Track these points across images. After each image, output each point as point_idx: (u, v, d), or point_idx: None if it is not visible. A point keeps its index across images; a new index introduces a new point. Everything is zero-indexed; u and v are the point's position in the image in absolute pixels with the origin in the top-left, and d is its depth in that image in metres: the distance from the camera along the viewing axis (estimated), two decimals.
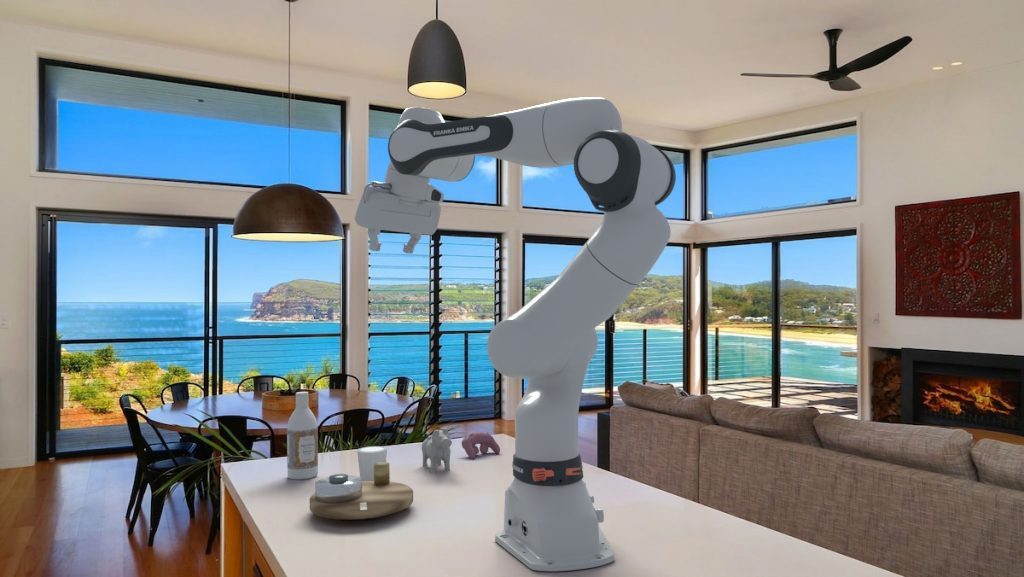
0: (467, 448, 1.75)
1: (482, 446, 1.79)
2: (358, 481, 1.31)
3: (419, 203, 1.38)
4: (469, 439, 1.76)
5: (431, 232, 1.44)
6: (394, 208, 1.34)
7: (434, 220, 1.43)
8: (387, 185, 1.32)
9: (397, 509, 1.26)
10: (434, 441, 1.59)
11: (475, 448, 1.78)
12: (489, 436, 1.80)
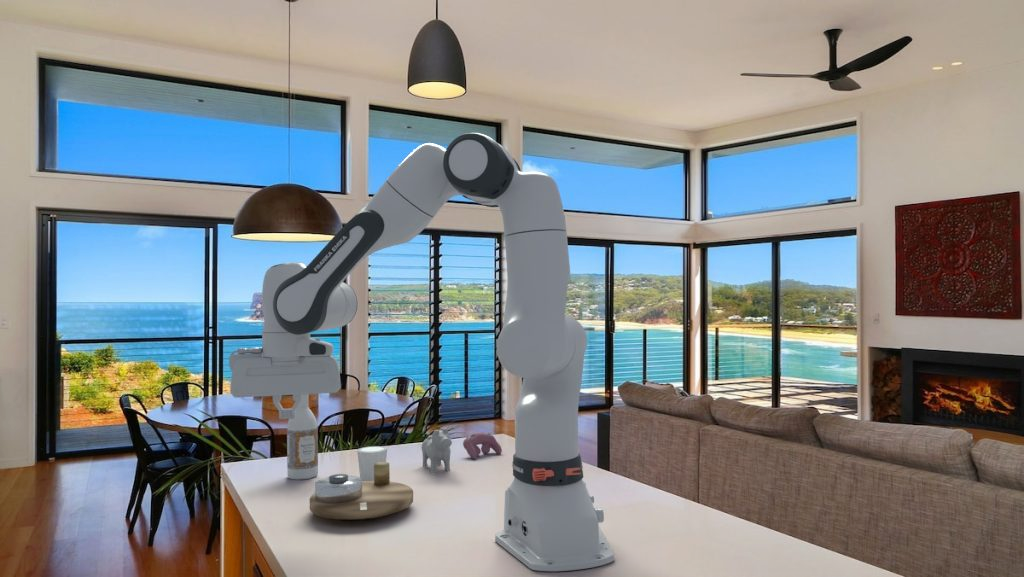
0: (468, 449, 1.74)
1: (484, 446, 1.79)
2: (358, 481, 1.31)
3: (301, 361, 1.28)
4: (471, 439, 1.76)
5: (332, 389, 1.29)
6: (268, 371, 1.27)
7: (331, 376, 1.29)
8: (256, 349, 1.27)
9: (397, 509, 1.26)
10: (434, 441, 1.59)
11: (477, 448, 1.77)
12: (491, 436, 1.80)
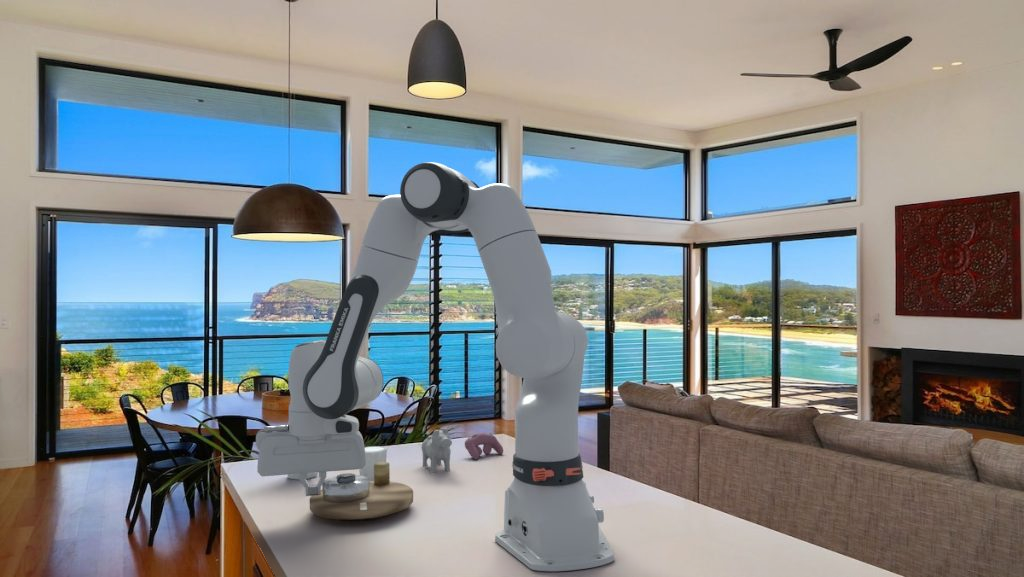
0: (470, 449, 1.74)
1: (485, 447, 1.78)
2: (365, 481, 1.31)
3: (328, 438, 1.29)
4: (472, 440, 1.75)
5: (358, 466, 1.30)
6: (295, 449, 1.27)
7: (357, 452, 1.30)
8: (283, 427, 1.28)
9: (397, 509, 1.26)
10: (434, 441, 1.59)
11: (478, 449, 1.77)
12: (492, 437, 1.79)
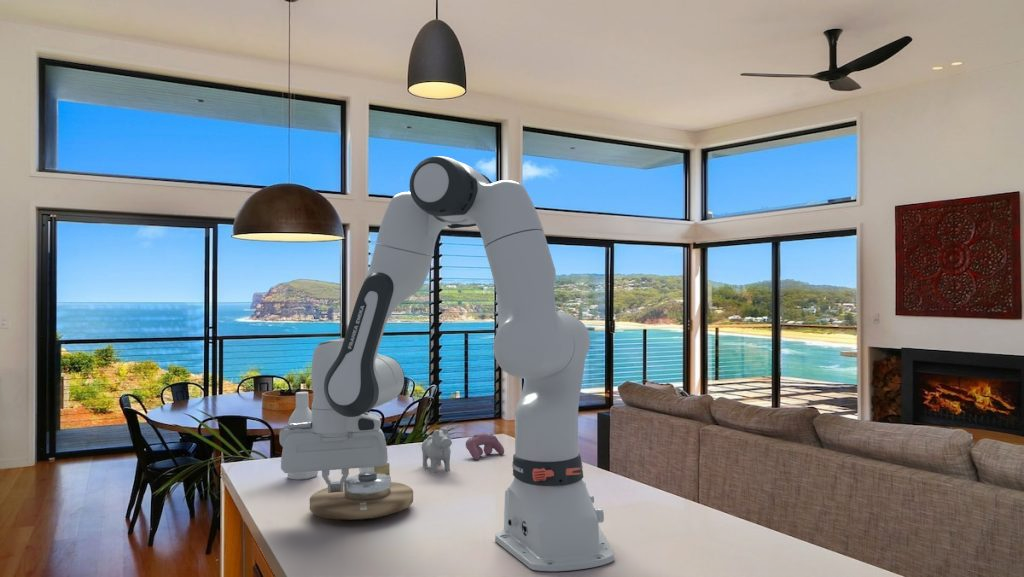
0: (471, 450, 1.74)
1: (486, 447, 1.78)
2: (387, 479, 1.32)
3: (350, 435, 1.30)
4: (473, 440, 1.75)
5: (380, 463, 1.31)
6: (318, 446, 1.29)
7: (379, 449, 1.31)
8: (306, 424, 1.29)
9: (397, 509, 1.26)
10: (434, 441, 1.59)
11: (479, 449, 1.77)
12: (493, 437, 1.79)
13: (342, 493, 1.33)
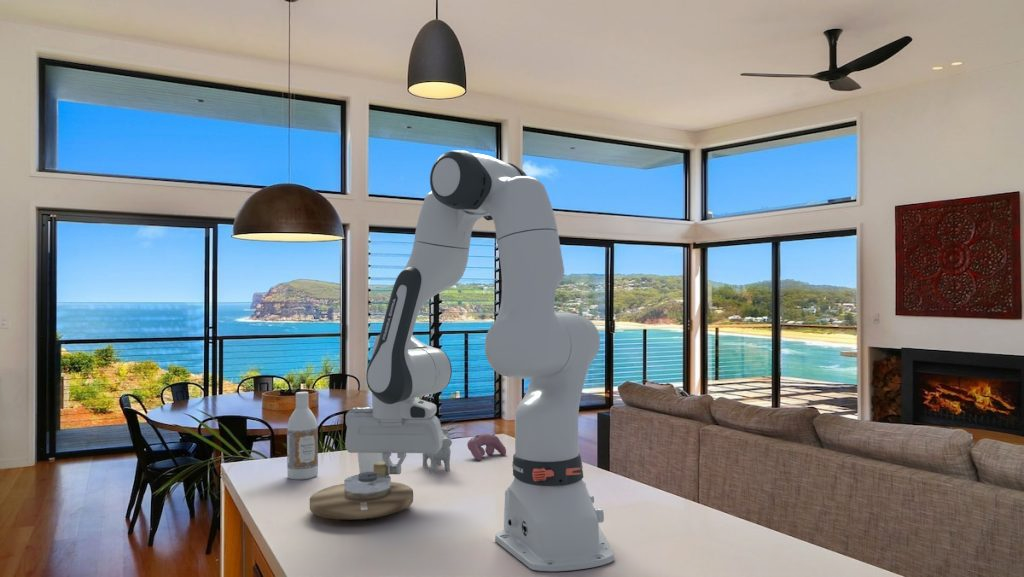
0: (473, 450, 1.73)
1: (488, 447, 1.78)
2: (387, 479, 1.32)
3: (405, 422, 1.38)
4: (475, 440, 1.74)
5: (432, 450, 1.37)
6: (376, 430, 1.39)
7: (431, 437, 1.37)
8: (367, 409, 1.40)
9: (398, 508, 1.26)
10: None
11: (481, 450, 1.76)
12: (495, 437, 1.79)
13: (342, 493, 1.33)
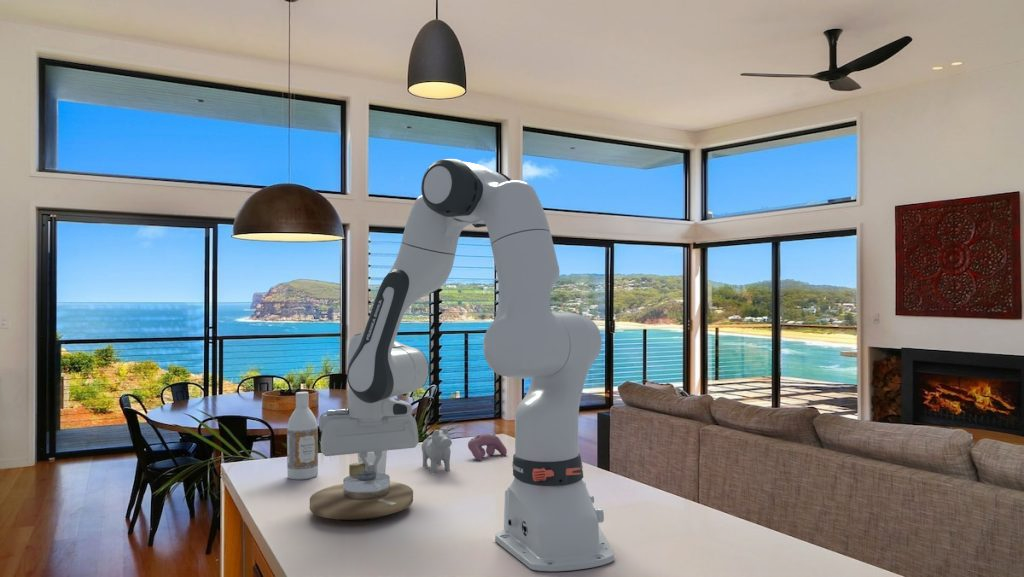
0: (473, 450, 1.73)
1: (488, 448, 1.77)
2: (385, 475, 1.35)
3: (385, 420, 1.40)
4: (475, 441, 1.74)
5: (411, 445, 1.42)
6: (355, 431, 1.39)
7: (411, 432, 1.42)
8: (343, 411, 1.39)
9: (412, 499, 1.32)
10: (434, 441, 1.59)
11: (481, 450, 1.76)
12: (495, 438, 1.78)
13: (340, 497, 1.30)
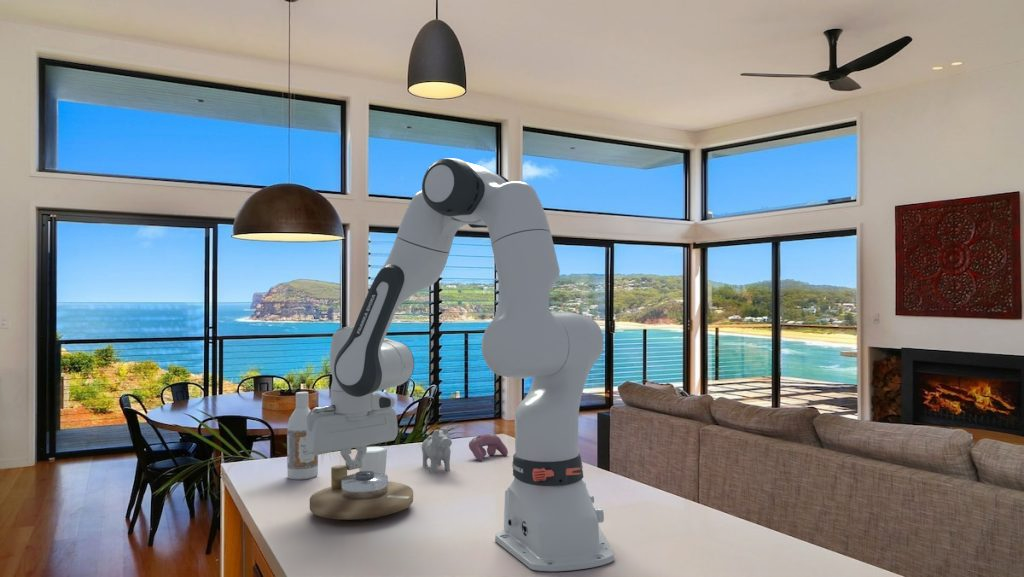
0: (474, 451, 1.73)
1: (489, 448, 1.77)
2: (379, 473, 1.36)
3: (369, 414, 1.41)
4: (476, 441, 1.74)
5: (392, 437, 1.45)
6: (343, 427, 1.37)
7: (392, 425, 1.45)
8: (330, 407, 1.36)
9: None
10: (434, 441, 1.59)
11: (482, 450, 1.75)
12: (496, 438, 1.78)
13: (343, 499, 1.29)
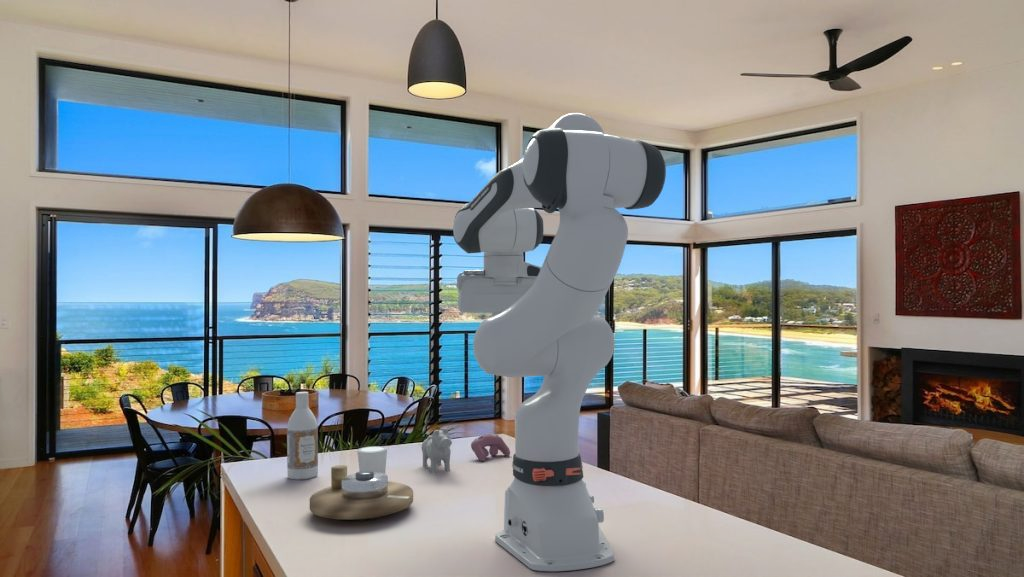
0: (476, 451, 1.72)
1: (492, 448, 1.76)
2: (379, 473, 1.36)
3: (519, 282, 1.45)
4: (479, 441, 1.73)
5: None
6: (491, 290, 1.44)
7: None
8: (480, 271, 1.44)
9: None
10: (434, 441, 1.59)
11: (485, 450, 1.75)
12: (499, 438, 1.77)
13: (343, 499, 1.29)
